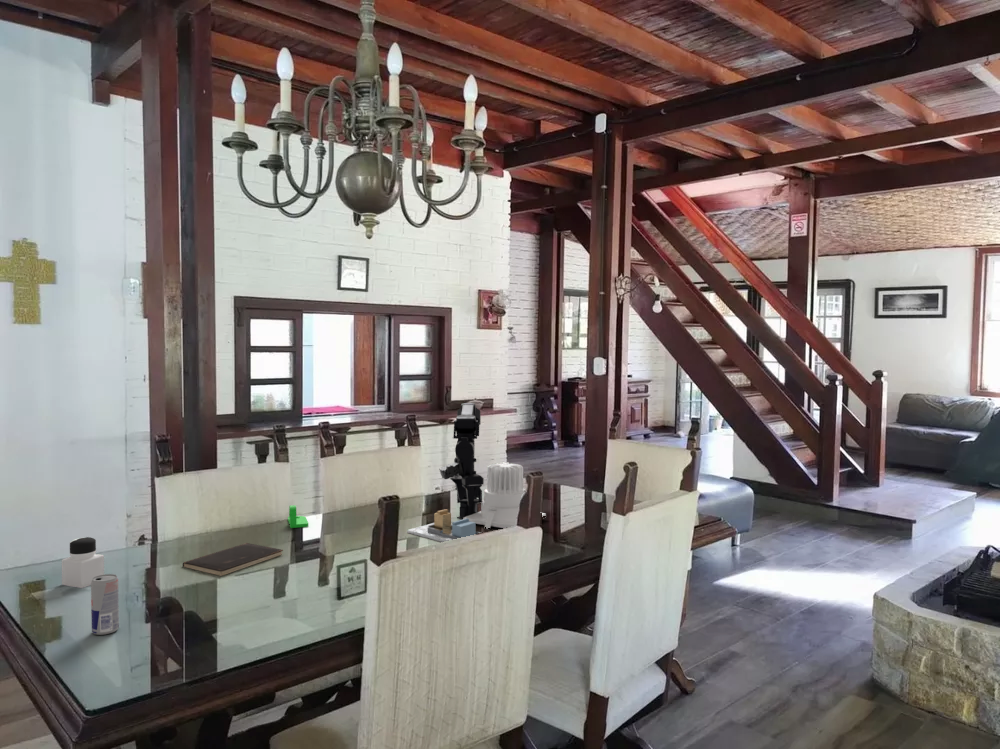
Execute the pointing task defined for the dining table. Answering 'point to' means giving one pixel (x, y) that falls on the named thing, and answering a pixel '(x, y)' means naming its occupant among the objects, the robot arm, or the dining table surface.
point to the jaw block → (442, 520)
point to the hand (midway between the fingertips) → (465, 502)
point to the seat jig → (433, 533)
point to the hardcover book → (232, 559)
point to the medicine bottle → (82, 563)
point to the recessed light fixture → (501, 496)
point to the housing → (463, 528)
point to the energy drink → (104, 604)
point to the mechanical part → (296, 518)
